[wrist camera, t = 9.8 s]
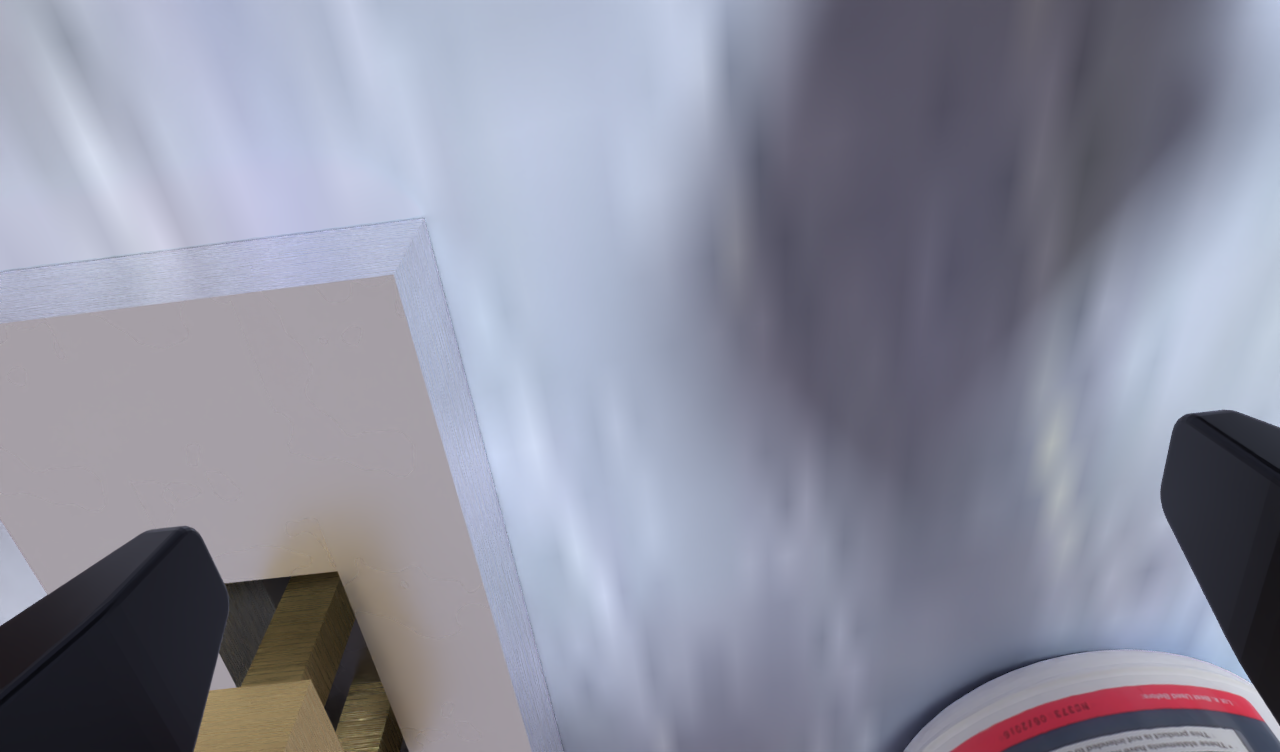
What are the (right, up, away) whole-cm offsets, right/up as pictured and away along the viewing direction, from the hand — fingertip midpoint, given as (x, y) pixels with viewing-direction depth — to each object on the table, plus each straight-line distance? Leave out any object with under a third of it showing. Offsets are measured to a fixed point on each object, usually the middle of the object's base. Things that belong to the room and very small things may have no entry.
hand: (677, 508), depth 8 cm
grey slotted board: (-8, -6, +17) cm, 20 cm away
